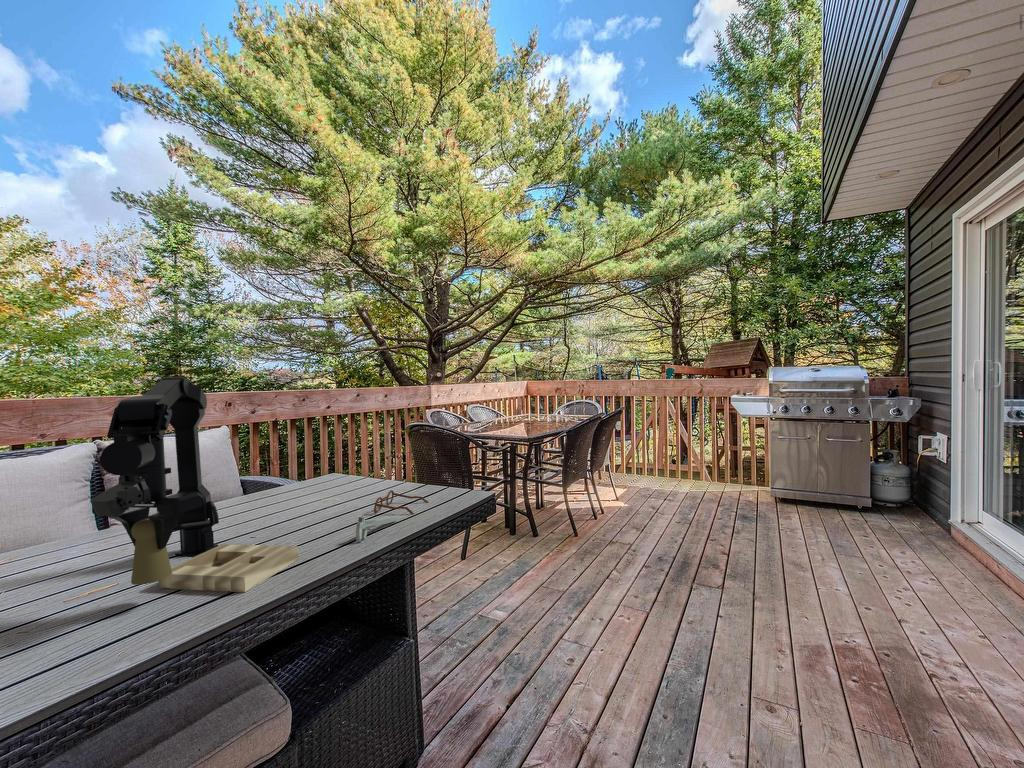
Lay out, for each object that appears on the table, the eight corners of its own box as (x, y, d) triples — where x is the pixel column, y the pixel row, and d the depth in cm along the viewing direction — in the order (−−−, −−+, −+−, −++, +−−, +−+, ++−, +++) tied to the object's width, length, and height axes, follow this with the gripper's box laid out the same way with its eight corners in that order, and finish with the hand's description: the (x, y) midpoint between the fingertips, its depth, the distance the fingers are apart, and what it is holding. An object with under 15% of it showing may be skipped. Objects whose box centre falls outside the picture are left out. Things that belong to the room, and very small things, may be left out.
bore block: (158, 588, 92) (157, 573, 92) (222, 557, 108) (221, 544, 108) (245, 592, 88) (244, 577, 88) (298, 559, 104) (297, 546, 104)
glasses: (391, 503, 151) (390, 488, 151) (429, 503, 149) (428, 488, 149) (373, 515, 138) (372, 499, 138) (414, 516, 136) (413, 499, 136)
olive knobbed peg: (139, 574, 87) (135, 517, 87) (176, 568, 90) (173, 512, 89) (125, 587, 82) (121, 526, 82) (165, 580, 84) (162, 521, 84)
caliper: (360, 544, 113) (359, 519, 113) (356, 543, 114) (355, 518, 114) (402, 518, 133) (401, 497, 133) (399, 518, 133) (398, 497, 133)
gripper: (55, 475, 79) (61, 564, 79) (145, 474, 76) (150, 567, 76) (121, 462, 90) (126, 541, 90) (202, 461, 87) (206, 543, 87)
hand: (150, 548), depth 86 cm, fingers closed on olive knobbed peg, 5 cm apart
